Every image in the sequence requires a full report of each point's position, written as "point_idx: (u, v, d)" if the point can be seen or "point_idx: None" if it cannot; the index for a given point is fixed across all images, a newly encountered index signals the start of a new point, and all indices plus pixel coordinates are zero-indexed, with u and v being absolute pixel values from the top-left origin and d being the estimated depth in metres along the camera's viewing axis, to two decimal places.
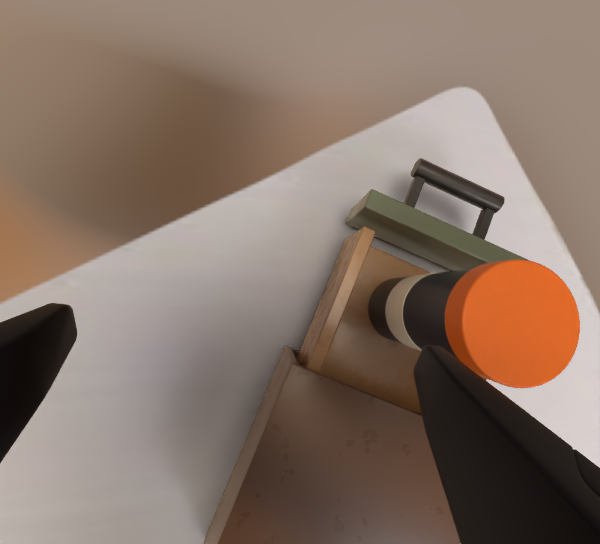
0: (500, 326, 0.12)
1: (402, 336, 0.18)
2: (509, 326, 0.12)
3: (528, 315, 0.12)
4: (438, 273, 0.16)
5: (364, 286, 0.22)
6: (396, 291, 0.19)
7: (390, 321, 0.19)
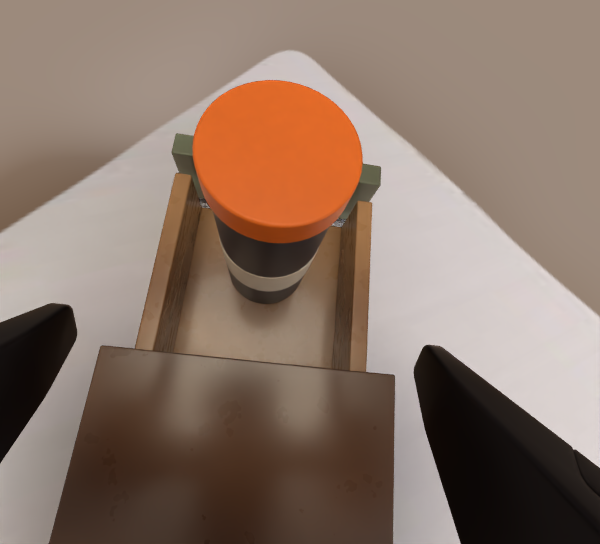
0: (250, 157, 0.09)
1: (238, 272, 0.14)
2: (262, 154, 0.09)
3: (285, 137, 0.09)
4: None
5: (220, 253, 0.19)
6: None
7: (228, 265, 0.15)
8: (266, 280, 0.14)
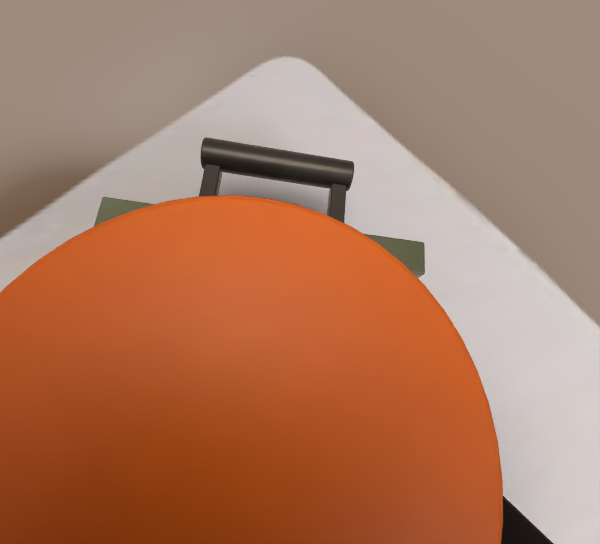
0: (111, 522, 0.02)
1: None
2: (160, 503, 0.02)
3: (249, 415, 0.03)
4: None
5: None
6: None
7: None
8: None
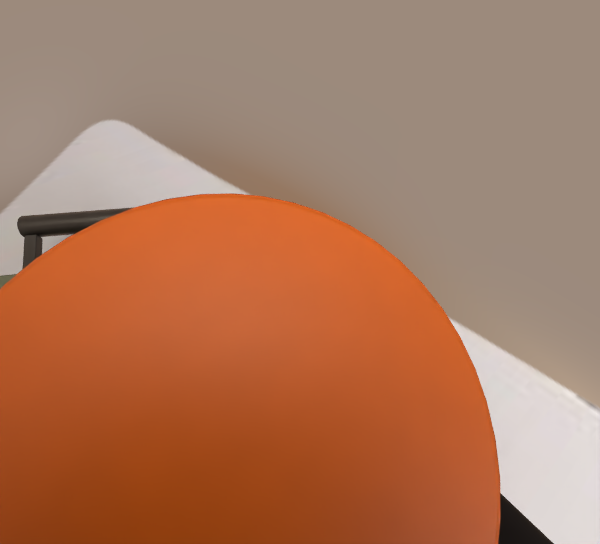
0: (108, 520, 0.02)
1: None
2: (157, 502, 0.02)
3: (246, 412, 0.03)
4: None
5: None
6: None
7: None
8: None
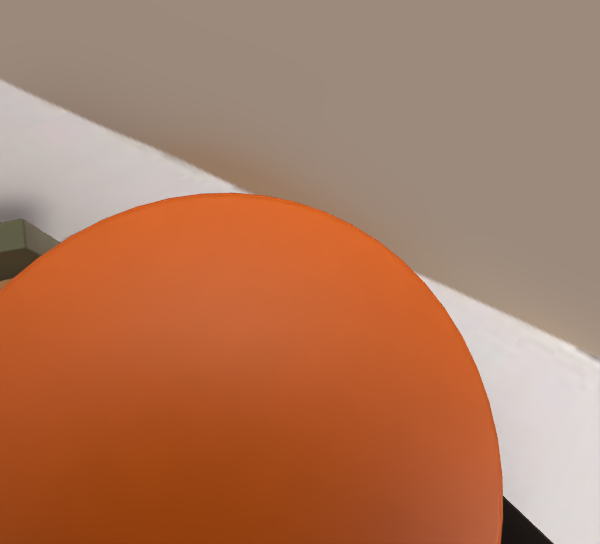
0: (110, 518, 0.02)
1: None
2: (159, 499, 0.02)
3: (249, 411, 0.03)
4: None
5: None
6: None
7: None
8: None
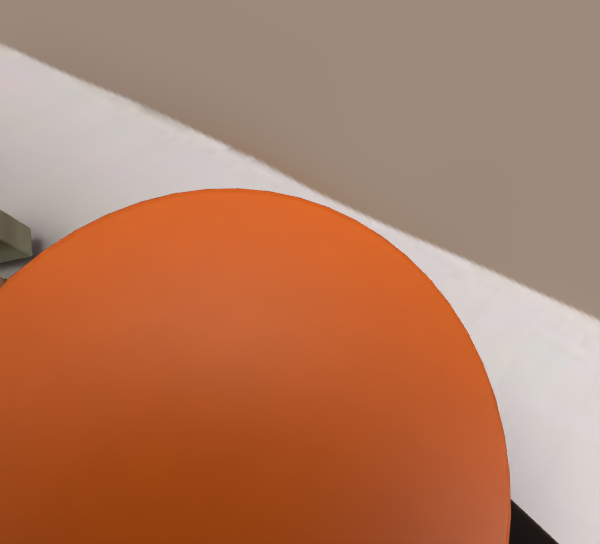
0: (115, 514, 0.02)
1: None
2: (165, 495, 0.02)
3: (254, 406, 0.03)
4: None
5: None
6: None
7: None
8: None
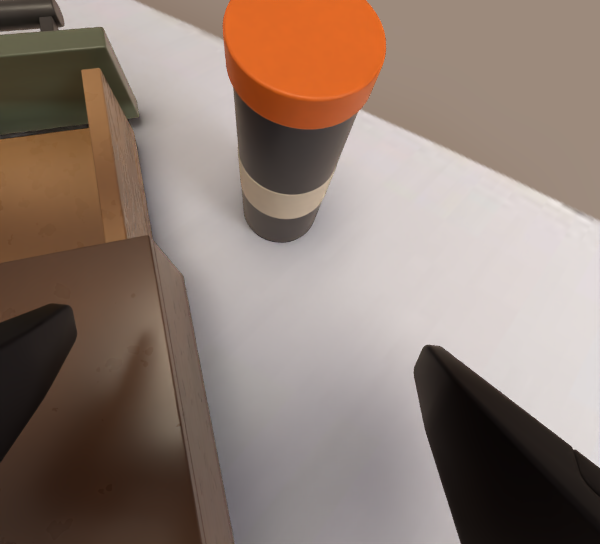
0: (278, 36, 0.09)
1: (256, 194, 0.14)
2: (289, 35, 0.09)
3: (312, 21, 0.09)
4: None
5: None
6: None
7: (246, 191, 0.15)
8: (284, 199, 0.14)
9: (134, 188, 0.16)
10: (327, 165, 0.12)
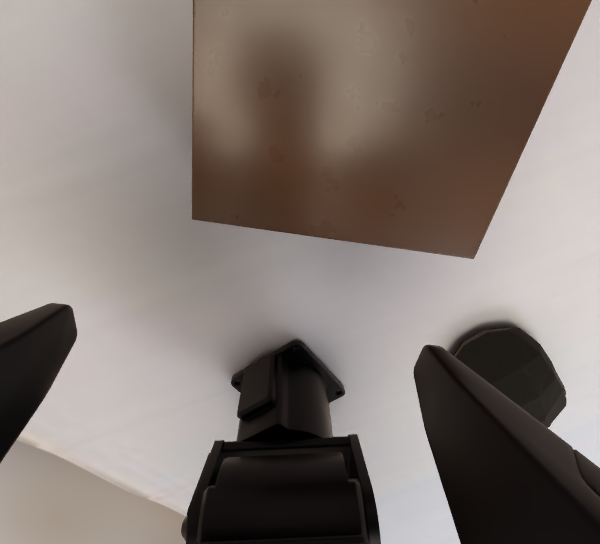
0: None
1: None
2: None
3: None
4: None
5: None
6: None
7: None
8: None
9: None
10: None
